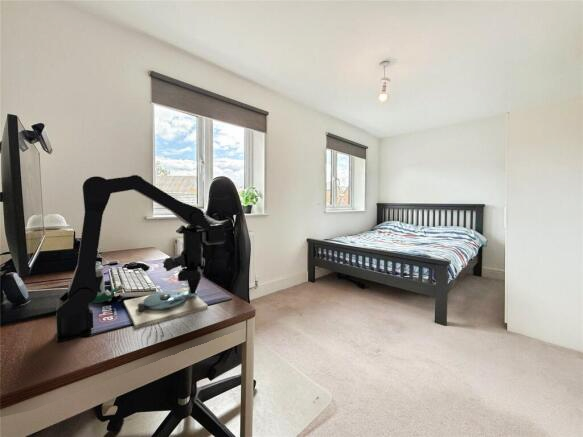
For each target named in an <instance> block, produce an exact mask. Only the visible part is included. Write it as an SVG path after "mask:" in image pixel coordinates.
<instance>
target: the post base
mask: <svg viewBox="0 0 583 437" xmlns="http://www.w3.org/2000/svg"><path fill="white" fill-rule="evenodd" d="M171 291H179V292H188V287H183V288H182V287H181V288H178V289H172V290H171ZM150 295H151V294H149V295H144V296H140V297H135V298H131V299H125V300H123V305H124V307H125V309H126V311H127V314H128V315H129V317H130V319H132V320H131V321H133V322H132V323H133V325H134V327H135V329H138V328H142V327H147V326H149V325H152V324H153V325H154V324H156V323H160V322H163V321H168V320H171V319H175V318H177V317H180V316H185V315H188V314H191V313H195V312H199V311H202V310H205V309H208V304H207V303H206V302H204V301H203V299H201V298H199V297H198V295H197V296H193V297H189V298H186V300H185V302H184V303H182V304H181V305H179V306H176V307H173V308H170V309H164V310H149V309H146V308H145V303H140V302H143V301H144V299H145V298H147V297H148V296H150ZM137 303H139V304H138V307H137Z"/></svg>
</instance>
